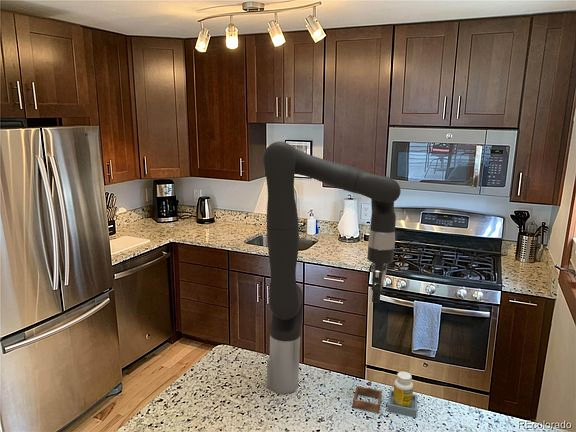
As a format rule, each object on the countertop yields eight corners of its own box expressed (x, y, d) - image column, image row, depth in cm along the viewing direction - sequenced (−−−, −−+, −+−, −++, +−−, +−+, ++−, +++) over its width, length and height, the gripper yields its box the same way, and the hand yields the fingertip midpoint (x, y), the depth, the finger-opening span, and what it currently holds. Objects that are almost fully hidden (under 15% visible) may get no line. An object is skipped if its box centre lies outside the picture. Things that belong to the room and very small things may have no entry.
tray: (387, 411, 126) (387, 404, 125) (389, 396, 133) (389, 389, 133) (416, 417, 124) (416, 410, 123) (416, 401, 131) (417, 395, 131)
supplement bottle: (401, 397, 132) (403, 368, 130) (415, 406, 127) (418, 376, 126) (388, 403, 129) (391, 373, 127) (402, 412, 124) (405, 382, 123)
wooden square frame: (352, 407, 127) (352, 399, 127) (356, 393, 134) (356, 385, 134) (378, 413, 125) (379, 405, 124) (381, 398, 132) (381, 390, 132)
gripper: (371, 238, 136) (367, 288, 139) (365, 249, 122) (361, 304, 126) (395, 241, 134) (391, 291, 137) (392, 253, 120) (388, 308, 124)
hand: (377, 297), depth 131 cm, fingers open, 8 cm apart
